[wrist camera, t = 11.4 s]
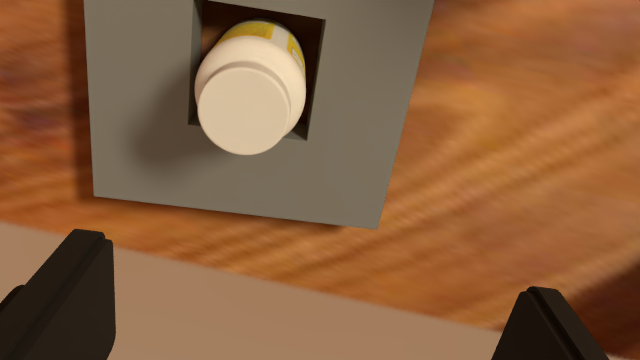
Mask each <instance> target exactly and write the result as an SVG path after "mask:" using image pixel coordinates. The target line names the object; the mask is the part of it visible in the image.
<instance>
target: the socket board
mask: <svg viewBox="0 0 640 360" xmlns="http://www.w3.org/2000/svg"><path fill="white" fill-rule="evenodd" d="M210 1H216V2H222V3H229V4H235V5H241V6H247V7H253V8H259V9H265V10H271V11H277V12H283V13H290V14H296V15H302V16H308V17H314V18H320V19H323V21H322V28H321V34H320V40H319V47H318V53H317V60H316V66H315V72H314V79H313V85H312V92H311V98H310V105H309V111H308V117H307V124H300V123H296V125H295V126H294V127H293V128H292V130H291V131H290V132H289V133H287V134H286V135H285V136H284V137H282V139H281V140H280V141H279V142H278V143H277V144H276V145H274V146H273V147H272V148H270V149H269V150H267V151H265V152H262V153H259V154H254V155H238V154H233V153H230V152H228V151H226V150H223V149H222V148H220V147H218V146H217V145H216V144H214V143H213V142H212V141H211V140H210V139H209V138H208V136H207V135H206V134H205V132H204V130H203V129H202V127H201V124H200V121H199V117H198V107H197V103H196V99H195V80H196V76H197V73H198V70H199V68H200V54H201V35H202V15H203V0H84V16H85V35H86V54H87V74H88V93H89V113H90V132H91V151H92V171H93V190H94V196H97V197H105V198H114V199H122V200H131V201H139V202H147V203H156V204H164V205H173V206H181V207H190V208H198V209H206V210H215V211H223V212H232V213H240V214H249V215H257V216H266V217H274V218H282V219H291V220H299V221H308V222H316V223H325V224H333V225H342V226H350V227H358V228H367V229H375V230H378V226H379V222H380V218H381V214H382V210H383V206H384V202H385V198H386V194H387V190H388V186H389V182H390V178H391V174H392V170H393V166H394V162H395V158H396V154H397V150H398V146H399V142H400V138H401V134H402V130H403V126H404V122H405V118H406V114H407V110H408V106H409V102H410V98H411V94H412V89H413V85H414V81H415V77H416V73H417V69H418V65H419V61H420V57H421V53H422V49H423V45H424V41H425V37H426V33H427V29H428V25H429V21H430V17H431V13H432V9H433V5H434V1H435V0H210Z"/></svg>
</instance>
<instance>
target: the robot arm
mask: <svg viewBox="0 0 640 360" xmlns="http://www.w3.org/2000/svg"><path fill="white" fill-rule="evenodd" d="M115 334H116V326H115V292H114V261H113V243H112V241H111V240H108V239H105V235H104V233H103V232H98V231H90V230H82V229H74V230H73V231H72V232H71V233H70V234H69V235H68V236H67V237H66V238H65V240H64V241H63V242H62V243H61V244H60V245H59V247H58V248H57V249H56V250H55V251H54V252H53V253H52V255H51V256H50V257H49V258H48V259H47V260H46V262H45V263H44V264H43V265H42V266H41V267H40V268H39V270H38V271H37V272H36V273H35V274H34V275H33V276H32V278H31V279H30V280H29V281H28V282H27V283H26V284H25V285H20V286H17V287H16V288H14V289H13V290H12V291H11V292H10V293H9V294H8V295H7V296H6V297H5V299H4V300H3V301H2V302H1V303H0V360H107V358H108V356H109V354H110V352H111V350H112V347H113V345H114V340H115ZM491 360H609V359H608V357H607V356H606V354H605V353H604V352H603V350H602V349H601V348H600V346H599V345H598V343H597V342H596V341H595V339H594V338H593V337H592V335H591V334H590V333H589V331H588V330H587V328H586V327H585V326H584V324H583V323H582V322H581V320H580V319H579V318H578V316H577V315H576V313H575V312H574V311H573V309H572V308H571V307H570V305H569V304H568V302H567V301H566V300H565V298H564V297H563V296H562V294H561V293H560V292H559V291H558V290H556V289H551V288H543V287H535V286H531V287H529V288H528V289H527V290H526V292H525V291H523V292H521V293H520V294H519V296H518V298H517V300H516V303H515V305H514V307H513V310H512V312H511V314H510V317H509V319H508V321H507V324H506V326H505V329H504V331H503V333H502V336H501V338H500V340H499V343H498V345H497V347H496V350H495V352H494V355H493V357H492V359H491Z"/></svg>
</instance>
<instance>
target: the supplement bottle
mask: <svg viewBox="0 0 640 360" xmlns="http://www.w3.org/2000/svg"><path fill="white" fill-rule="evenodd" d="M305 98H306V80H305V59H304V54H303V51H302V48H301V46H300V43H299V42H298V40H297V38H296V37H295V36H294V34H293V33H292V32H291V31H290V30H289V29H287V28H286V27H285V26H284V25H282V24H280V23H278V22H276V21H273V20H270V19H266V18H250V19H246V20H243V21H241V22H239V23H237V24H235V25H234V26H232V27H231V28H230V29H229V30H228V31H227V32H226V33H225V34H224V35H223V36H222V37H221V39H220V40H219V41H218V42H217V44H216V45H215V46H214V47H213V48H212V50H211V51H210V52H209V53H208V54H207V56H206V57H205V58H204V60H203V62H202V63H201V65H200V68H199V70H198V73H197V76H196V80H195V99H196V103H197V107H198V117H199V121H200V124H201V127H202V129H203V130H204V132H205V134H206V135H207V136H208V138H209V139H210V140H211V141H212V142H213V143H214V144H216V145H217V146H218V147H220V148H222V149H223V150H226V151H228V152H230V153H233V154H238V155H254V154H259V153H262V152H265V151H267V150H269V149H270V148H272V147H273V146H274V145H276V144H277V143H278V142H279V141H280V140H281V139H282V137H284V136H285V135H286V134H287V133H289V132H290V131H291V130H292V128H293V127H294V126H295V125H296V123H297V122H298V120H299V118H300V116H301V114H302V111H303V108H304V104H305Z"/></svg>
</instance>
